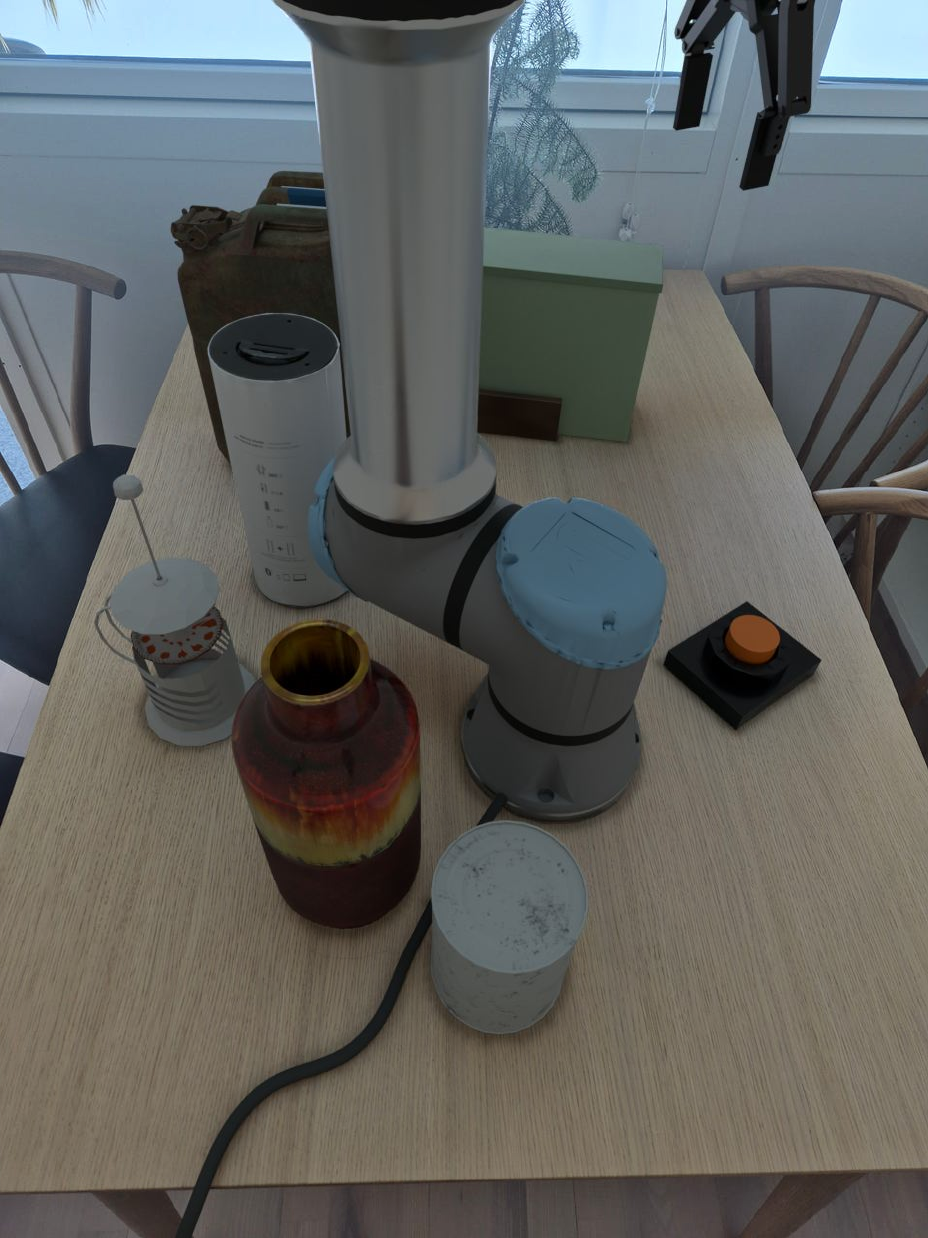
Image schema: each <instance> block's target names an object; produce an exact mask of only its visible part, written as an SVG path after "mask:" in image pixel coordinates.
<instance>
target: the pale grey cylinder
mask: <svg viewBox="0 0 928 1238" xmlns="http://www.w3.org/2000/svg"><path fill="white" fill-rule="evenodd" d="M431 881H432V882H431V888H430V898H431V900H432V923H431V953H430V972H431V973H430V974H431V980H432V982H433V985H434V986H433V987H434V989H435V992H436V994H437V996H438V998H439V999H440V1001H441V1002H442V1004H443V1006H444V1008H445V1009H447V1011H448V1012H449V1013H450V1014H451V1015H453V1017H454V1018H455V1019H457V1020H458V1021H459V1022H460V1023H462V1024H463V1025H465V1026H467V1027H468V1028H470V1029H473V1030H475V1031H478V1032H481V1033H484V1034H493V1035H499V1036H500V1035H507V1034H515V1033H518V1032H521V1031H523V1030H526V1029H528V1028H530V1027H532V1026H533V1025H535V1024H536V1023H538V1022H539V1021H540V1020H542V1019H544V1017H545V1016H546V1015H547V1013H548V1012H549V1011H550V1010H551V1009H552V1008H553V1006H554V1005H555V1003H556V1001H557V998H558V997H559V994H560V993H561V989H562V984H563V981H564V978H565V975H566V972H567V969H568V967H569V964H570V962H571V958H572V956H573V953H574V951H575V948H576V945H577V943H578V940H579V938H580V936H581V934H582V932H583V930H584V928H585V925H586V920H587V918H588V917H587V916H588V913H589V889H588V886H587V885H588V884H587V881H586V877H585V874H584V872H583V870H582V868H581V865H580V864H579V861H578V859H577V858H576V857H575V855H574V854H573V853H572V852H571V850H570V849H569V848H568V847H567V845H566V844H564V843H563V842H562V841H561V840H560V839H559V838H557V837H556V836H555V835H554V834H552V833H550V832H548V831H546V830H545V829H543V828H541V827H540V826H536V825H534V824H531V823H528V822H525V821H518V820H508V819H507V820H506V819H504V820H494V821H493V822H488V823H485V824H482V825H478V826H476V825H474V826H473V827H471V828H469V829H468V830H466V831H465V832H463V833H461V834H459V835H458V836H457V837H456V838H455V839H454V840H453V841H452V842H451V843H450V844H449V845H447V847H446V848H445V850H444V851H443V853H442V854H441V856H440V858H439V859H438V860H437V864H436V867H435V869H434V871H433V874H432V880H431Z"/></svg>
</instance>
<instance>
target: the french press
mask: <svg viewBox="0 0 928 1238" xmlns="http://www.w3.org/2000/svg"><path fill="white" fill-rule="evenodd" d="M112 488H113V491H114V497H116V498H117V499H119V500H122V501H130V503H131V504H132V507H133V510H134V513H135V515H136V518H137V521H138V524H139V527H140V530H141V533H142V536H143V538H144V539H143V540H144V541H145V544H146V547H147V550H148V553H149V557H150V559H151V561H148V562H145V563H143V564H142V565H140V566H138V567H135V568H134V569H132V570H130V571H127V572H126V574H125V575H124V576H123V577H122V578H121V579H120V580H119V581H118V582H117V583H116V584H115V586H114V589H113V591H112V592H111V593H110V594H109V595H108V596H107V597H106V598H105V601H104V606H103V607H101V608H100V609H99V610H97V612H96V614H95V618H94V628H95V631H97V634H98V636H99V639H101V641H102V642H103V643H104V644H105V645H106V646H107V647H108V649H110V650H111V652H112V653H114V654H116V655H117V656H118V657H120V658H121V659H123V660H125V661H127V662H129V663H132V664H134V665H135V666H136V668H137V671H138V672H139V674H140V675H139V676H140V677H141V679H142V681H143V684H144V686H145V689H146V691H147V693H148V696H147V699H146V701H145V706H144V711H145V717H146V720H147V726H148V727H149V728H150V729H151V730H152V731H153V732H154V733H155V734H156V736H157V737H159V739H161V740H163V741H167V742H169V743H171V744H174V745H176V746H179V747H204V746H207V745H210V744H214V743H216V742H219V741H223V740H226V739H227V738H228V737H230V736H231V731H232V725H233V720H234V717H235V714H236V712H237V709H238V706H239V705H240V703H241V701H242V699H243V698H244V696H245V694H246V693H247V692H248V690H249V689H250V688H251V687H252V685H253V684H254V683H255V682H256V680H255V676H254V675H253V674H252V673H251V672H250V671H249V670H248V669H247V668H246V667H245V666H244V665H242V664H241V663H239V661H238V660H239V659H238V657H237V654H236V650H235V647H234V643H233V639H232V636H231V633H230V629H229V626H228V623H227V620H225V619H224V618H223V616H222V613H221V611H220V610H219V609H218V608H217V607H216V604H217V600H218V598H219V594H220V590H221V585H220V582H219V580H218V576H217V574H216V573H215V572H214V571H213V570H212V569H211V568H210V567H209V566H208V565H206V564H205V563H203V562H200V561H198V560H194V559H191V558H189V557H164V558H160V559H155V555H154V552H153V550H152V547H151V544H150V541H149V539H148V535H147V532H146V530H145V526H144V524H143V522H142V518H141V515H140V513H139V510H138V506H137V504H136V501H135V499H137V498H139V497H140V496H141V495H142V494H143V492H144V487H143V484H142V482H141V479H140V478H139V477H137V476H136V475H135V474H127V473H124V474H122V475H120V476H118V477H116V479H114V481H113V483H112ZM109 610H111V614H110V611H109ZM104 612H105V615H106V617H107V620H108V623H109V624H110V626H112V627H113V628H114V630H115V631H116V632H117V633H118V634H119V635H120V636H121V637H122V638H123V639H125V640H126V641H128V642H129V643H130V644H132V645H131V646H132V647H131V649H132V655H133V658H130V657H128V656H126V655H125V654H123V653H122V652H120V651H118V650H117V649H115V648H114V647H113V646H112V645H111V644H110V643H109V642H108V640H107V639H106V638H105V636H104V635H103V633H102V631H101V629H100V627H99V619H100V616H101V614H102V613H104ZM112 618H114V619H115V620H116V622H118V624H120V625H121V626H122V628H124V629H127V630H129V631H131V632H130V638H129V637H128V636H126V635H125V634H124V633H123V632H122V630H121V629H120V628H119V627H118V626H117V625H116V623H115V622H114V620H113V619H112ZM225 634H226V635H227V636H226V635H225ZM221 637H222V638H221ZM225 640H226V641H225ZM218 642H219V643H221V644H222V645H223V646H224V647H223V646H222V645H220V644H218ZM214 646H215V648H217V649H219V650H221V651H222V653H221V652H220V651H219V650H217V649H215V648H213V647H214ZM147 661H149V662H152V665H153V666H154V669H155V672H156V674H157V675H153V674H152V673H151V670H150V668H149V666H148V663H147Z"/></svg>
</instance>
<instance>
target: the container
mask: <svg viewBox="0 0 928 1238" xmlns="http://www.w3.org/2000/svg"><path fill="white" fill-rule="evenodd" d="M317 207H318V208H317ZM188 208H189V210H188V209H186V208H185V207H183V208H182V209H181V216H180V217H179V219H177V220H175V221H172V222H171V223H170V234H171V236H172V238H173V239H174V244H175V246H176V247H178V248H179V249H181V252H182V259H183V261H182V262H181V264H180V265H179V267H178V268H177V273H176V274H177V283H178V287H179V291H180V295H181V299H182V304H183V308H184V312H185V316H186V321H187V324H188V328H189V331H190V334H191V338H192V339H191V340H192V345H193V350H194V355H195V360H196V363H197V367H198V372H199V375H200V379H201V384H202V387H203V392H204V395H205V400H206V404H207V408H208V413H209V418H210V421H211V425H212V429H213V433H214V437H215V441H216V446H217V448H218V450H219V451H220V453H221V454H222V456H223V458H224V459H225V460H226V461H227V462H228V464H230V465H231V462H230V457H229V452H228V447H227V442H226V437H225V433H224V428H223V423H222V418H221V413H220V408H219V404H218V399H217V394H216V389H215V384H214V379H213V375H212V370H211V365H210V360H209V356H208V345H209V343H210V340H211V339H212V337H213V336H214V335H215V334H216V333H217V332H218V331H219V330H220V329H221V328H222V327H224V326H226V325H227V324H230V323H232V322H234V321H236V320H239V319H242V318H246V317H249V316H255V315H260V314H266V313H285V314H295V315H300V316H305V317H309V318H313V319H315V320H317V321H319V322H321V323H323V324H324V325H326V326H327V327H329V328H330V329H331V330H332V331H333V333H334V334H335V335H336V337H337V339H338V341H339V343H340V345H339V352H340V363H341V375H342V387H343V400H344V413H345V426H346V439H347V438H348V437H350V436H351V433H350V423H349V414H348V404H347V395H346V386H345V376H344V367H343V357H342V348H341V339H340V329H339V320H338V310H337V301H336V292H335V282H334V273H333V264H332V254H331V245H330V236H329V226H328V217H327V207H326V198H325V189H324V179H323V171H322V172H321V171H319V172H318V171H295V170H278V171H275V172H274V173H273V174H272V175H271V177H270V178H269V179H268V182H267V184H266V187H265V188H264V189H263V190H262V191H261V192H260V194H259V196H258V197H257V200H256V203H255V205H254V206H252V207H248V208H246V209H243V210H241V211H235V210H229V211H228V210H226V209H224V208H221V207H218V206H212V205H211V206H210V205H197V204H196V205H195V204H193V205H190V207H188Z"/></svg>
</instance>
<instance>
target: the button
mask: <svg viewBox="0 0 928 1238" xmlns="http://www.w3.org/2000/svg"><path fill="white" fill-rule="evenodd" d="M779 642H780V635H779V632H778V630H777V629H776V627H775V626H774V625H773V624H772V623H771V622H769V621H768V620H766V619H764V618H762V617H759V616H754V615H743V616H740V617H738V618H736V619H735V620H733V622H732V623H731V625H730V628H729V630H728V632H727V635H726V637H725V645H726V648H727V650H728V651H729V652H730V653H731V654H732V655H733V656H734V657H735V658H737V659H738V660H740V661H743V662H746V663H749V664H762V663H765V662H767V661H769V660H770V659H771V658H772V656H773V655H774V653H775V651H776V649H777V647H778V645H779Z"/></svg>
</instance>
